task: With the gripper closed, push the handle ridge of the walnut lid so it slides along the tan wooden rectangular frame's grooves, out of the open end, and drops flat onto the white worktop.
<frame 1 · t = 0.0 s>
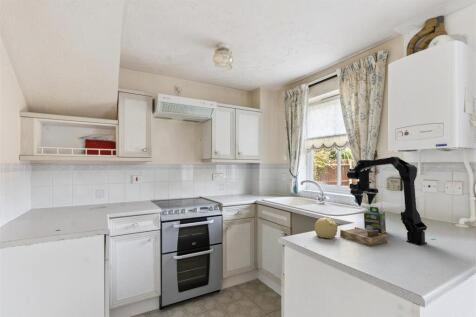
hand: (364, 205, 146), 15 cm above the worktop, fingers open, 9 cm apart
cover plate: (362, 234, 126), point 2 cm above the worktop, touching tan wooden rectangular frame
tan wooden rectangular frame: (362, 239, 126), on the worktop
chalk box: (375, 232, 140), on the worktop
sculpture: (326, 237, 131), on the worktop
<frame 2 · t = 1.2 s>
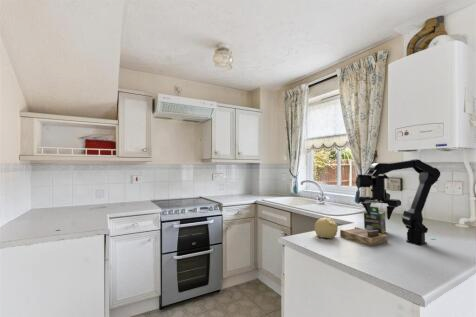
hand: (378, 217, 122), 12 cm above the worktop, fingers open, 9 cm apart
nothing on the worktop moved.
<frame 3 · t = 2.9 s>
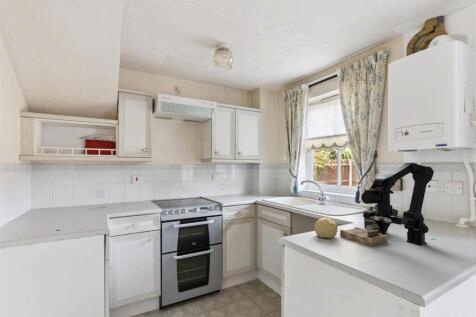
hand: (384, 234, 116), 5 cm above the worktop, fingers closed
nothing on the worktop moved.
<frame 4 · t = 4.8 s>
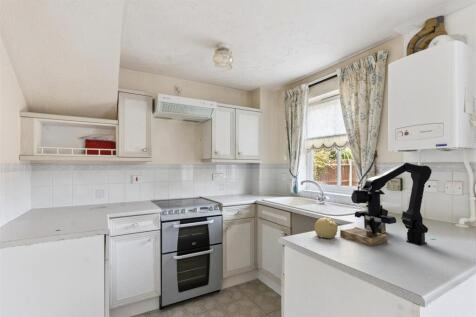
hand: (374, 233, 120), 5 cm above the worktop, fingers closed
cover plate: (361, 234, 127), point 2 cm above the worktop, touching gripper, tan wooden rectangular frame
everything else where it was.
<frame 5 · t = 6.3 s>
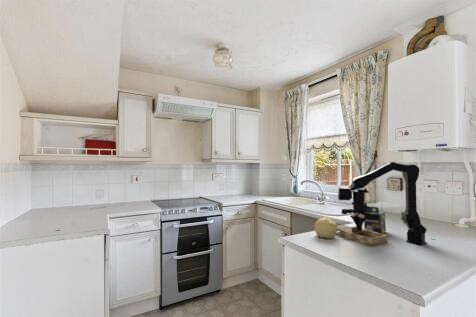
hand: (359, 229, 128), 5 cm above the worktop, fingers closed
cover plate: (347, 230, 134), point 2 cm above the worktop, touching gripper
everything else where it was.
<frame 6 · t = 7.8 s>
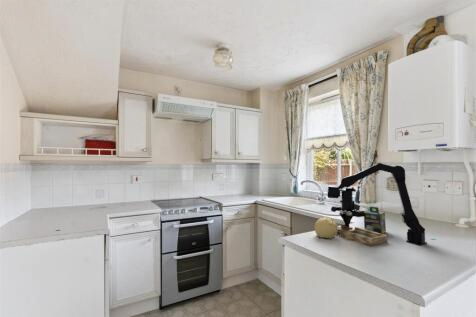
hand: (347, 226, 135), 5 cm above the worktop, fingers closed
cover plate: (336, 229, 140), point 1 cm above the worktop, tilted 9°, touching gripper
everything else where it was.
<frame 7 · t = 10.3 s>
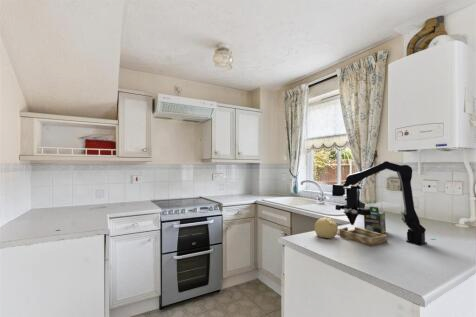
hand: (352, 224, 132), 6 cm above the worktop, fingers closed
cover plate: (334, 232, 141), on the worktop
everything else where it was.
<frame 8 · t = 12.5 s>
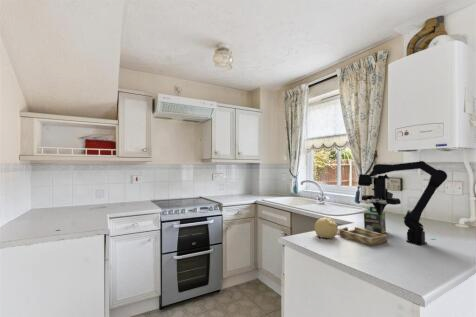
hand: (380, 215, 130), 12 cm above the worktop, fingers closed
nothing on the worktop moved.
at the end: cover plate inside the target area (3.2 cm from its centre), on the worktop; cover plate touching worktop; cover plate tilted 0° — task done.
